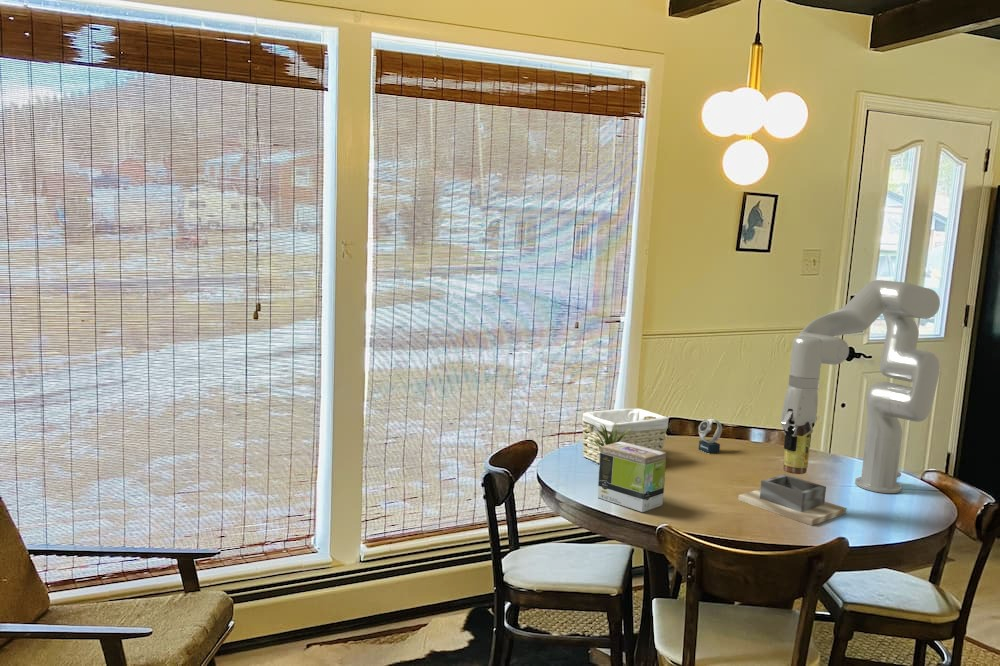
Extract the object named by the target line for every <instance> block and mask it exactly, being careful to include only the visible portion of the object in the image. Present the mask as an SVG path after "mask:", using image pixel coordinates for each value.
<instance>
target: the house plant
mask: <svg viewBox="0 0 1000 666" xmlns="http://www.w3.org/2000/svg"><path fill="white" fill-rule="evenodd" d="M591 425H592V424H591ZM614 425H615V424H614ZM593 426H594V425H593ZM603 426H604V428H605V429H604V428H603ZM603 426H602V425H601V428H602V430H603V433H604V434H603V433H602V432H601V431H599V430H598V429H597V430H598V431H599V433H600V434H602V435H601V436H603V437H602V438H603V440H604V442H606V443H605V444H606V445H608V444H613V443H615V440H616V437H617V433H618V427H617V428H616V431H615V432H614V433H615V435H614V433H613V429H612V433H613V435H614V438H613V435H612V433H611V435H610V436H609V438H608V435H607V430H606V427H605V425H604V424H603ZM613 428H614V426H613ZM631 429H632V428H630V429H628V430H626V431H625V432H624V433H623V434H622V435H621V436H620V437H619V438H618V440H617V442H620V440H621V439H622V438H623V437H624V436H625V435H626V434H628V433H627V432H628V431H629V430H631ZM596 434H597V433H596ZM597 435H598V434H597ZM598 436H599V435H598ZM599 438H600V440H601V442H602V443H601V442H600V441H598V440H594V441H593V442H596V443H599V444H597V445H598V446H599V450H601V446H604V443H603V441H602V439H601V437H600V436H599ZM617 442H616V443H617ZM626 443H629V442H626ZM600 445H601V446H600ZM598 464H599V465H600V453H599V463H598Z"/></svg>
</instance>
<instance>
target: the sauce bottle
mask: <svg viewBox="0 0 1000 666" xmlns="http://www.w3.org/2000/svg"><path fill="white" fill-rule="evenodd" d="M791 424H794V422H791ZM790 427H791V426H790ZM791 428H792V430H793V429H794V427H791ZM810 436H811V437H812V433H811V427H810V424H809V422H806V424H805V425H802V426H799V427H798V430H797V433H796V437H797V443H796V451H790V450H786V449H784V448H783V449H784V452H783V463H782V464H783V471H785V472H787V473H790V474H793V475H794V474H796V475H803V474H806V473H807V471H808V467H809V458H810V457H809V456H810V448H811V442H810ZM809 447H810V448H809Z"/></svg>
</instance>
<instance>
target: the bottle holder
mask: <svg viewBox="0 0 1000 666" xmlns="http://www.w3.org/2000/svg"><path fill="white" fill-rule="evenodd" d="M826 490H827V486H825V485H821V484H818V483H815V482H811V481H808V480H805V479H803V478H798V477H795V476H791V475H789V474H781V475H777V476H775V477H773V476H772V477H770V478H767V479H763V480H761V482H760V489H759V488H758V489H756V490H755V489H754V490H753V491H748V492H745V493H741V494H738V499H737V500H738V501H739V502H741V503H745V504H747V503H748V505H751V506H753V507H757V508H760V509H762V510H765V511H768V512H771V513H774V514H778V515H780V516H783V517H785V518H788V519H792V520H794V521H797V522H800V523H803V524H806V525H809V526H811V527H812V526H815V525H817V524H820V523H823V522H826V521H829V520H832V519H835V518H837V517H841V516H843V515H846V514H845V513H847V507H844V506H841V505H839V504H835V503H832V502H829V501H827V500H826Z"/></svg>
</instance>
